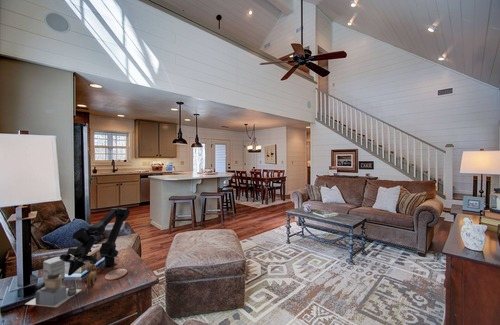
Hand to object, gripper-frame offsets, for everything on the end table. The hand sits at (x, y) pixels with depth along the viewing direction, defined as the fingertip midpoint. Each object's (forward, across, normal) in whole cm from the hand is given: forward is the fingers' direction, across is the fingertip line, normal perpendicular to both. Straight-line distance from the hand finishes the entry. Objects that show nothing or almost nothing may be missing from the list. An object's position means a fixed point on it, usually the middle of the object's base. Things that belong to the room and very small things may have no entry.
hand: (68, 275), depth 118 cm
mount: (+11, -1, +2) cm, 11 cm away
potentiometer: (+8, +5, +3) cm, 10 cm away
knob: (+11, 0, -1) cm, 11 cm away
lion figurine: (0, +5, +13) cm, 14 cm away
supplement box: (+1, -17, +12) cm, 21 cm away
